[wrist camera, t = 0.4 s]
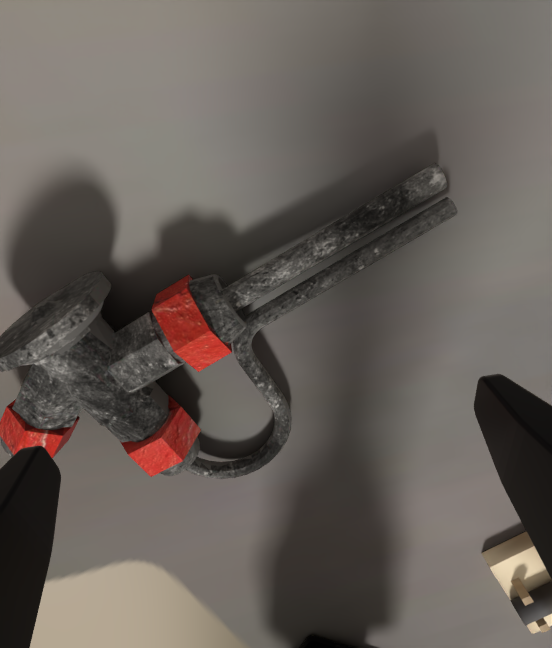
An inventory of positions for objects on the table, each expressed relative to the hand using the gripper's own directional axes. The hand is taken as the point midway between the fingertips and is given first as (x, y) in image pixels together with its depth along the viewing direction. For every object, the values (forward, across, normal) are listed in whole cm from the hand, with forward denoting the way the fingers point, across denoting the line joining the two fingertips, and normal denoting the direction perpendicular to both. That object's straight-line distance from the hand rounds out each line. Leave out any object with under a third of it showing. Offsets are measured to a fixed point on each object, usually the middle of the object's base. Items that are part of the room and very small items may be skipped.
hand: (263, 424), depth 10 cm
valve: (+15, +2, +9) cm, 17 cm away
